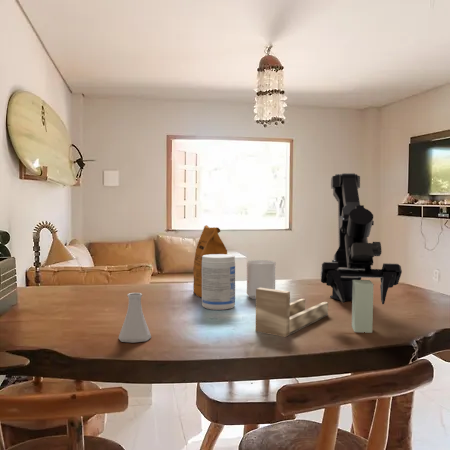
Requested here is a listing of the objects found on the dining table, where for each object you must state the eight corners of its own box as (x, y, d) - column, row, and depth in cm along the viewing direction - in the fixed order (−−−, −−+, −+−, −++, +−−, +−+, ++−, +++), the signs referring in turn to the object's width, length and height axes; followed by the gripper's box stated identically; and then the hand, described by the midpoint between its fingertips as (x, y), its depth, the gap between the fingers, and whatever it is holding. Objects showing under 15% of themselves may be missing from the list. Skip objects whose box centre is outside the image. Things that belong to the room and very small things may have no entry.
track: (301, 311, 130) (301, 275, 129) (327, 315, 125) (328, 278, 125) (255, 331, 110) (255, 288, 110) (285, 337, 106) (285, 293, 105)
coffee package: (218, 290, 158) (218, 224, 156) (230, 297, 146) (231, 227, 145) (189, 291, 155) (189, 225, 153) (199, 299, 143) (199, 227, 142)
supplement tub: (238, 310, 131) (239, 257, 130) (205, 311, 128) (205, 258, 128) (230, 302, 140) (230, 253, 139) (199, 303, 138) (199, 253, 137)
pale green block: (351, 326, 115) (352, 279, 114) (368, 326, 115) (369, 280, 114) (354, 332, 110) (355, 283, 109) (372, 332, 110) (373, 283, 109)
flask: (120, 334, 107) (120, 290, 107) (152, 333, 108) (152, 290, 107) (115, 344, 100) (115, 297, 99) (150, 343, 101) (150, 297, 100)
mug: (277, 300, 143) (278, 263, 143) (248, 300, 143) (249, 264, 142) (270, 292, 155) (270, 258, 155) (243, 292, 155) (244, 258, 154)
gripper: (322, 229, 116) (325, 281, 106) (401, 230, 114) (411, 284, 103) (319, 257, 124) (322, 308, 114) (392, 258, 122) (402, 311, 112)
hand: (363, 302), depth 111 cm, fingers open, 9 cm apart
